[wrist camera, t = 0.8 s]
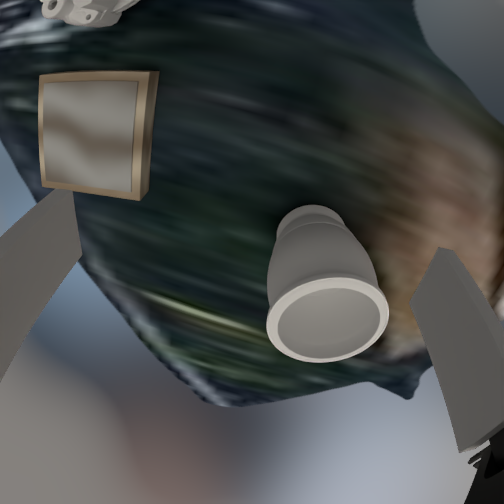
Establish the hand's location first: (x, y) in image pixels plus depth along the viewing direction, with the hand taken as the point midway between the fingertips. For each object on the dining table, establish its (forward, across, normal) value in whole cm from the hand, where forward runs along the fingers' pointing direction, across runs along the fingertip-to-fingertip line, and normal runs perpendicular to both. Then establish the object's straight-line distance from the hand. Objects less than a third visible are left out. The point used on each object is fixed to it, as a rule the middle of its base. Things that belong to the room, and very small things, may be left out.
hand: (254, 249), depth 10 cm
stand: (+24, -19, -3) cm, 31 cm away
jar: (+24, +8, -13) cm, 28 cm away
